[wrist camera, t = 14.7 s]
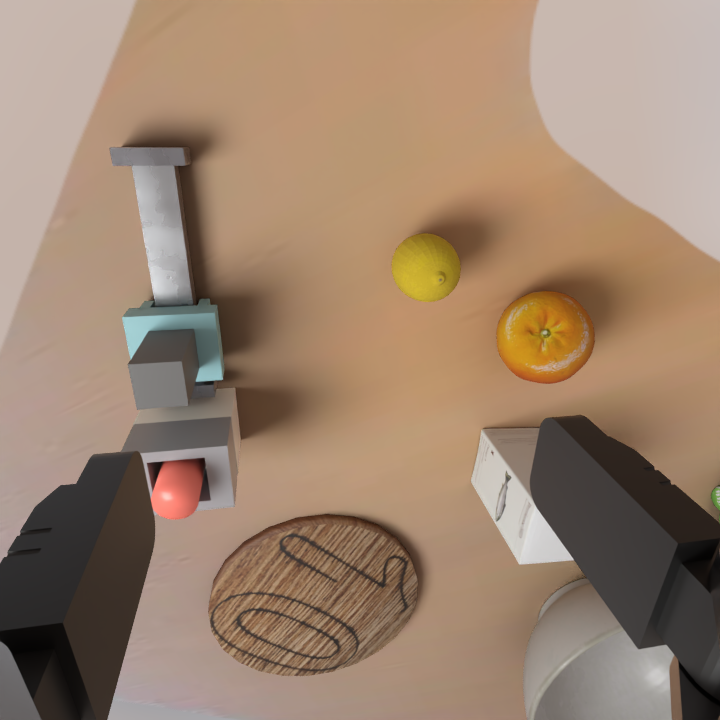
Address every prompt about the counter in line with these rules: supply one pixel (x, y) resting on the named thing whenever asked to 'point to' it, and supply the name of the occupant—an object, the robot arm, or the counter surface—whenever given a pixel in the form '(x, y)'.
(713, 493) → the turtle holder
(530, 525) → the supplement box
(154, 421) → the grey and white block
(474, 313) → the counter surface
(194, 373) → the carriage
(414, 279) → the lemon
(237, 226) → the counter surface
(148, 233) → the rail
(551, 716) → the decorative bowl
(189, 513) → the button
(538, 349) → the fruit
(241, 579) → the trivet
